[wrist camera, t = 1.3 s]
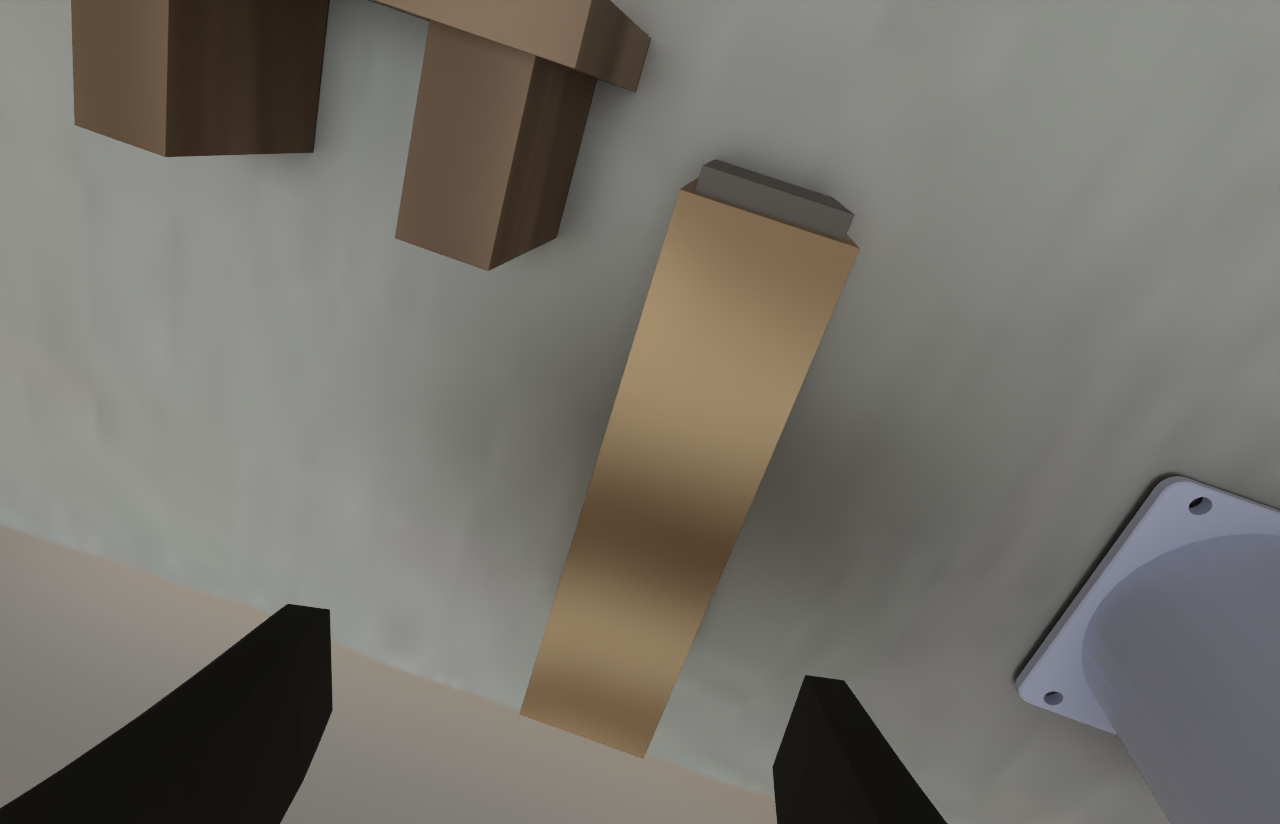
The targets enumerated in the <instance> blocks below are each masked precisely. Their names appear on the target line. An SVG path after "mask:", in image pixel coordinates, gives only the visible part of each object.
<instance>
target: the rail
mask: <svg viewBox="0 0 1280 824" xmlns="http://www.w3.org/2000/svg"><path fill="white" fill-rule="evenodd" d="M853 217H854V214H853V213H851V212H850V211H849V210H848V209H846V208H845V207H844V206H843V205H841V204H840V203H839V202H838V201H836V200H835V199H834V198H832V197H829V196H826V195H823V194H820V193H816V192H813V191H810V190H807V189H804V188H801V187H798V186H795V185H792V184H789V183H786V182H783V181H780V180H777V179H774V178H770V177H767V176H764V175H761V174H758V173H755V172H752V171H749V170H746V169H743V168H740V167H737V166H734V165H731V164H728V163H724V162H721V161H718V160H713V161H711V162H709V163H707V164H705V165H703V167H702V170H701V174H700V177H698V178H697V179H695V180H694V181H692V182H691V183H689V184H687V185H686V186H684V187H683V188H681V189H680V190H679V194H678V197H677V200H676V204H675V207H674V210H673V213H672V217H671V220H670V223H669V226H668V230H667V233H666V236H665V240H664V243H663V246H662V249H661V253H660V256H659V259H658V262H657V266H656V269H655V272H654V276H653V279H652V282H651V285H650V289H649V292H648V295H647V298H646V302H645V305H644V308H643V311H642V315H641V318H640V321H639V325H638V328H637V331H636V334H635V338H634V341H633V344H632V347H631V351H630V354H629V357H628V361H627V364H626V367H625V370H624V374H623V377H622V380H621V383H620V387H619V390H618V393H617V397H616V400H615V403H614V406H613V410H612V413H611V416H610V419H609V423H608V426H607V429H606V433H605V436H604V439H603V442H602V446H601V449H600V452H599V455H598V459H597V462H596V465H595V469H594V472H593V475H592V478H591V482H590V485H589V488H588V491H587V495H586V498H585V501H584V505H583V508H582V511H581V514H580V518H579V521H578V524H577V527H576V531H575V534H574V537H573V541H572V544H571V547H570V550H569V554H568V557H567V560H566V563H565V567H564V570H563V573H562V577H561V580H560V583H559V586H558V590H557V593H556V596H555V599H554V603H553V606H552V609H551V613H550V616H549V619H548V622H547V626H546V629H545V632H544V635H543V639H542V642H541V645H540V649H539V652H538V655H537V658H536V662H535V665H534V668H533V671H532V675H531V678H530V681H529V685H528V688H527V691H526V694H525V698H524V701H523V704H522V707H521V711H520V715H523V716H526V717H528V718H531V719H534V720H537V721H540V722H542V723H545V724H548V725H551V726H554V727H556V728H559V729H562V730H565V731H567V732H570V733H573V734H576V735H579V736H582V737H584V738H587V739H590V740H592V741H596V742H598V743H601V744H604V745H607V746H609V747H612V748H615V749H618V750H620V751H623V752H626V753H629V754H632V755H634V756H637V757H640V758H644V756H645V754H646V751H647V749H648V747H649V744H650V742H651V739H652V737H653V735H654V732H655V730H656V728H657V725H658V723H659V721H660V718H661V716H662V714H663V711H664V709H665V706H666V704H667V702H668V699H669V697H670V695H671V692H672V690H673V688H674V685H675V683H676V681H677V678H678V676H679V673H680V671H681V669H682V666H683V664H684V662H685V659H686V657H687V655H688V652H689V650H690V648H691V645H692V643H693V640H694V638H695V636H696V633H697V631H698V629H699V626H700V624H701V622H702V619H703V617H704V614H705V612H706V610H707V607H708V605H709V603H710V600H711V598H712V596H713V593H714V591H715V589H716V586H717V584H718V581H719V579H720V577H721V574H722V572H723V570H724V567H725V565H726V563H727V560H728V558H729V556H730V553H731V551H732V548H733V546H734V544H735V541H736V539H737V537H738V534H739V532H740V530H741V527H742V525H743V523H744V520H745V518H746V515H747V513H748V511H749V508H750V506H751V504H752V501H753V499H754V497H755V494H756V492H757V490H758V487H759V485H760V482H761V480H762V478H763V475H764V473H765V471H766V468H767V466H768V464H769V461H770V459H771V457H772V454H773V452H774V449H775V447H776V445H777V442H778V440H779V438H780V435H781V433H782V431H783V428H784V426H785V424H786V421H787V419H788V416H789V414H790V412H791V409H792V407H793V405H794V402H795V400H796V398H797V395H798V393H799V391H800V388H801V386H802V383H803V381H804V379H805V376H806V374H807V372H808V369H809V367H810V365H811V362H812V360H813V358H814V355H815V353H816V350H817V348H818V346H819V343H820V341H821V339H822V336H823V334H824V332H825V329H826V327H827V325H828V322H829V320H830V317H831V315H832V313H833V310H834V308H835V306H836V303H837V301H838V299H839V296H840V294H841V292H842V289H843V287H844V284H845V282H846V280H847V277H848V275H849V273H850V270H851V268H852V266H853V263H854V261H855V258H856V256H857V254H858V251H859V249H860V248H859V247H858V246H857V245H856V244H855V243H854V242H853V241H852V240H851V239H850V237H849V236H848V235H847V231H848V229H849V226H850V224H851V222H852V219H853Z"/></svg>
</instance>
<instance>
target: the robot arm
mask: <svg viewBox="0 0 1280 824" xmlns="http://www.w3.org/2000/svg"><path fill="white" fill-rule="evenodd" d="M1200 497H1203V499H1202V502H1201V503H1200V504H1199V505H1197V506H1195V507H1192V508H1188V507H1189V505H1190V503H1191V502H1192V501H1193V500H1194V499H1196V498H1200ZM1015 687H1016V690H1017V692H1018V694H1019V696H1020V697H1021V699H1022V700H1023V701H1025V702H1027V703H1029V704H1032V705H1035V706H1037V707H1040V708H1043V709H1046V710H1048V711H1051V712H1054V713H1057V714H1059V715H1062V716H1065V717H1068V718H1070V719H1073V720H1076V721H1079V722H1081V723H1084V724H1087V725H1090V726H1092V727H1095V728H1098V729H1101V730H1103V731H1106V732H1109V733H1112V734H1114V735H1117V736H1118V737H1119V738H1120V740H1121V742H1122V743H1123V745H1124V747H1125V748H1126V750H1127V752H1128V753H1129V755H1130V757H1131V758H1132V760H1133V762H1134V763H1135V765H1136V767H1137V768H1138V770H1139V772H1140V773H1141V775H1142V777H1143V778H1144V780H1145V782H1146V783H1147V785H1148V786H1149V788H1150V790H1151V791H1152V793H1153V795H1154V796H1155V798H1156V800H1157V801H1158V803H1159V805H1160V806H1161V808H1162V810H1163V811H1164V813H1165V815H1166V816H1167V818H1168V820H1169V821H1170V823H1171V824H1280V510H1277V509H1274V508H1272V507H1269V506H1266V505H1263V504H1260V503H1257V502H1255V501H1252V500H1249V499H1246V498H1243V497H1240V496H1237V495H1235V494H1232V493H1229V492H1226V491H1223V490H1220V489H1218V488H1215V487H1212V486H1209V485H1206V484H1203V483H1200V482H1198V481H1195V480H1192V479H1189V478H1186V477H1181V476H1175V477H1169V478H1167V479H1165V480H1163V481H1161V482H1160V483H1159V484H1158V485H1157V486H1156V487H1155V488H1154V489H1153V491H1152V492H1151V494H1150V495H1149V496H1148V498H1147V499H1146V501H1145V502H1144V503H1143V505H1142V506H1141V507H1140V509H1139V510H1138V512H1137V513H1136V514H1135V516H1134V517H1133V519H1132V520H1131V521H1130V523H1129V524H1128V525H1127V527H1126V528H1125V530H1124V531H1123V532H1122V534H1121V535H1120V537H1119V538H1118V539H1117V541H1116V542H1115V543H1114V545H1113V546H1112V548H1111V549H1110V550H1109V552H1108V553H1107V554H1106V556H1105V557H1104V559H1103V560H1102V561H1101V563H1100V564H1099V566H1098V567H1097V568H1096V570H1095V571H1094V572H1093V574H1092V575H1091V577H1090V578H1089V579H1088V581H1087V582H1086V584H1085V585H1084V586H1083V588H1082V589H1081V590H1080V592H1079V593H1078V595H1077V596H1076V597H1075V599H1074V600H1073V602H1072V603H1071V604H1070V606H1069V607H1068V608H1067V610H1066V611H1065V613H1064V614H1063V615H1062V617H1061V618H1060V619H1059V621H1058V622H1057V624H1056V625H1055V626H1054V628H1053V629H1052V631H1051V632H1050V633H1049V635H1048V636H1047V637H1046V639H1045V640H1044V642H1043V643H1042V644H1041V646H1040V647H1039V649H1038V650H1037V651H1036V653H1035V654H1034V655H1033V657H1032V658H1031V660H1030V661H1029V662H1028V664H1027V665H1026V667H1025V668H1024V669H1023V671H1022V672H1021V673H1020V675H1019V676H1018V678H1017V680H1016V682H1015ZM1052 691H1055V692H1056V693H1054V694H1053V695H1046V694H1047V693H1048V692H1052ZM331 713H332V674H331V637H330V610H329V609H321V608H314V607H307V606H299V605H292V604H287V605H286V606H284V607H283V608H281V609H280V610H279V611H277V612H276V613H275V614H273V615H272V616H271V617H269V618H268V619H267V620H266V621H264V622H263V623H262V624H260V625H259V626H258V627H256V628H255V629H254V630H253V631H251V632H250V633H249V634H247V635H246V636H245V637H244V638H242V639H241V640H240V641H238V642H237V643H236V644H235V645H233V646H232V647H231V648H229V649H228V650H227V651H225V652H224V653H223V654H222V655H220V656H219V657H218V658H216V659H215V660H214V661H212V662H211V663H210V664H209V665H207V666H206V667H205V668H203V669H202V670H201V671H199V672H198V673H197V674H195V675H194V676H193V677H192V678H190V679H189V680H187V681H186V682H185V683H183V684H182V685H180V686H179V687H178V688H176V689H175V690H174V691H172V692H171V693H170V694H168V695H167V696H166V697H164V698H163V699H162V700H160V701H159V702H157V703H156V704H155V705H153V706H152V707H151V708H149V709H148V710H147V711H145V712H144V713H142V714H141V715H140V716H138V717H137V718H136V719H134V720H133V721H131V722H130V723H128V724H127V725H126V726H124V727H123V728H121V729H120V730H118V731H117V732H115V733H114V734H112V735H111V736H109V737H108V738H106V739H105V740H104V741H102V742H101V743H99V744H98V745H96V746H95V747H93V748H92V749H90V750H89V751H88V752H86V753H85V754H83V755H82V756H80V757H79V758H77V759H76V760H75V761H73V762H71V763H70V764H69V765H67V766H66V767H64V768H63V769H61V770H60V771H58V772H57V773H55V774H53V775H52V776H50V777H49V778H47V779H46V780H44V781H43V782H41V783H40V784H38V785H36V786H35V787H33V788H32V789H30V790H29V791H27V792H26V793H24V794H22V795H21V796H19V797H18V798H16V799H14V800H13V801H11V802H10V803H8V804H7V805H5V806H3V807H2V808H0V824H280V822H281V821H282V819H283V817H284V815H285V813H286V812H287V810H288V808H289V806H290V804H291V802H292V801H293V799H294V797H295V795H296V793H297V791H298V789H299V787H300V786H301V784H302V782H303V780H304V777H305V775H306V773H307V771H308V768H309V766H310V763H311V761H312V759H313V757H314V754H315V752H316V750H317V747H318V745H319V742H320V740H321V737H322V735H323V732H324V730H325V727H326V725H327V722H328V720H329V718H330V715H331ZM773 778H774V791H775V803H776V814H777V824H947V823H946V821H945V820H944V819H943V817H942V816H941V815H940V813H939V812H938V811H937V809H936V808H935V807H934V805H933V804H932V803H931V801H930V800H929V799H928V797H927V796H926V795H925V793H924V792H923V791H922V789H921V788H920V787H919V785H918V784H917V783H916V781H915V780H914V778H913V777H912V776H911V774H910V773H909V772H908V770H907V769H906V767H905V766H904V765H903V763H902V762H901V760H900V759H899V758H898V756H897V755H896V753H895V752H894V751H893V749H892V748H891V746H890V745H889V744H888V742H887V741H886V739H885V738H884V736H883V735H882V734H881V732H880V731H879V729H878V728H877V726H876V725H875V724H874V722H873V721H872V719H871V718H870V717H869V715H868V714H867V712H866V711H865V709H864V708H863V707H862V705H861V704H860V702H859V701H858V699H857V698H856V697H855V695H854V694H853V692H852V691H851V690H850V688H849V687H848V685H847V684H846V683H845V681H844V680H837V679H829V678H822V677H815V676H808V675H805V677H804V680H803V683H802V686H801V689H800V692H799V694H798V697H797V700H796V703H795V706H794V708H793V711H792V714H791V717H790V720H789V723H788V725H787V728H786V731H785V734H784V737H783V739H782V742H781V745H780V748H779V751H778V753H777V756H776V759H775V762H774V765H773Z"/></svg>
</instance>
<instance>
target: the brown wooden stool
mask: <svg viewBox="0 0 1280 824" xmlns="http://www.w3.org/2000/svg"><path fill="white" fill-rule="evenodd" d="M369 1H372V2H375V3H378V4H381V5H384V6H387V7H389V8H392V9H395V10H398V11H401V12H404V13H407V14H410V15H413V16H416V17H419V18H422V19H424V20H427V21H430V23H429V29H428V35H427V41H426V47H425V54H424V60H423V66H422V72H421V79H420V85H419V91H418V97H417V103H416V110H415V116H414V122H413V128H412V135H411V141H410V147H409V153H408V159H407V166H406V172H405V178H404V184H403V191H402V197H401V203H400V209H399V215H398V222H397V228H396V234H395V238H396V239H399V240H402V241H405V242H408V243H410V244H413V245H416V246H419V247H422V248H424V249H427V250H430V251H433V252H436V253H439V254H441V255H444V256H447V257H450V258H453V259H456V260H458V261H461V262H464V263H467V264H470V265H473V266H475V267H478V268H481V269H484V270H487V271H489V270H491V269H493V268H495V267H497V266H499V265H501V264H503V263H506V262H508V261H510V260H512V259H514V258H516V257H518V256H520V255H522V254H524V253H526V252H528V251H530V250H532V249H534V248H536V247H538V246H541V245H543V244H545V243H547V242H549V241H551V240H553V239H555V238H556V236H557V233H558V229H559V225H560V221H561V217H562V213H563V209H564V205H565V201H566V198H567V194H568V190H569V186H570V182H571V178H572V174H573V170H574V166H575V163H576V159H577V155H578V151H579V147H580V143H581V139H582V135H583V131H584V128H585V124H586V120H587V116H588V112H589V108H590V104H591V100H592V96H593V93H594V89H595V85H596V81H597V79H600V80H602V81H605V82H608V83H611V84H614V85H617V86H620V87H623V88H626V89H629V90H632V91H635V92H636V89H637V86H638V82H639V78H640V75H641V71H642V68H643V64H644V61H645V57H646V53H647V50H648V46H649V43H650V39H651V38H650V37H649V36H648V35H647V34H646V33H645V32H643V31H642V30H641V29H640V28H639V27H638V26H637V25H636V24H635V23H634V22H633V21H632V20H631V19H629V18H628V17H627V16H626V15H625V14H624V13H623V12H622V11H621V10H620V9H619V8H618V7H617V6H616V5H614V4H613V3H612V2H611V1H610V0H369ZM328 3H329V0H71V11H72V46H73V81H74V115H75V125H76V126H79V127H82V128H85V129H88V130H91V131H93V132H96V133H99V134H102V135H105V136H108V137H110V138H113V139H116V140H119V141H122V142H125V143H127V144H130V145H133V146H136V147H139V148H141V149H144V150H147V151H150V152H153V153H156V154H158V155H161V156H164V157H179V156H212V155H246V154H280V153H313V144H314V135H315V126H316V116H317V107H318V97H319V88H320V78H321V69H322V60H323V50H324V41H325V31H326V22H327V12H328Z"/></svg>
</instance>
